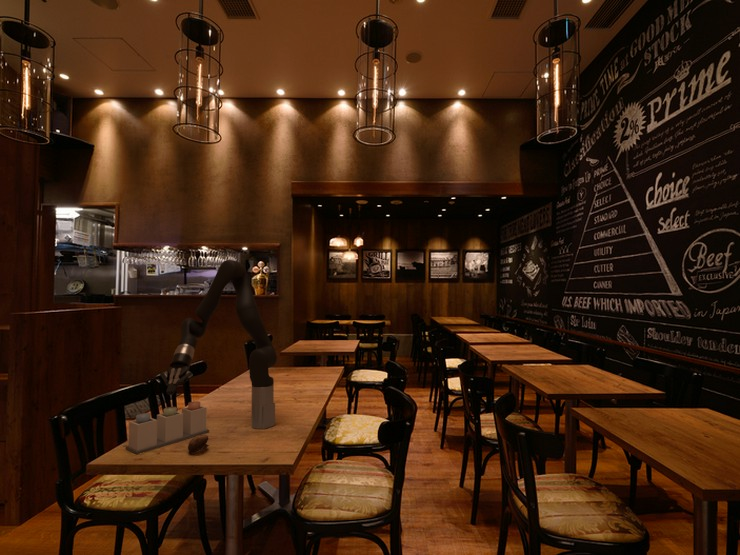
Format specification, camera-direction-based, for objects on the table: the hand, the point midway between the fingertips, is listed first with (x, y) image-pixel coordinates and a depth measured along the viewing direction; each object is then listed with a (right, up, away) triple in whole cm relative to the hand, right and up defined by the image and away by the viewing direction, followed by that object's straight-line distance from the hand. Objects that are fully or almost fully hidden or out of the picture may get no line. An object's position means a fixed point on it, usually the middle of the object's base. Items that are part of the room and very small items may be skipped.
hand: (169, 393), depth 154 cm
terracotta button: (+6, -9, +8) cm, 14 cm away
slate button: (-6, -8, -8) cm, 13 cm away
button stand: (0, -18, 0) cm, 18 cm away
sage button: (0, -9, 0) cm, 9 cm away
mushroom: (+16, -17, -12) cm, 27 cm away
